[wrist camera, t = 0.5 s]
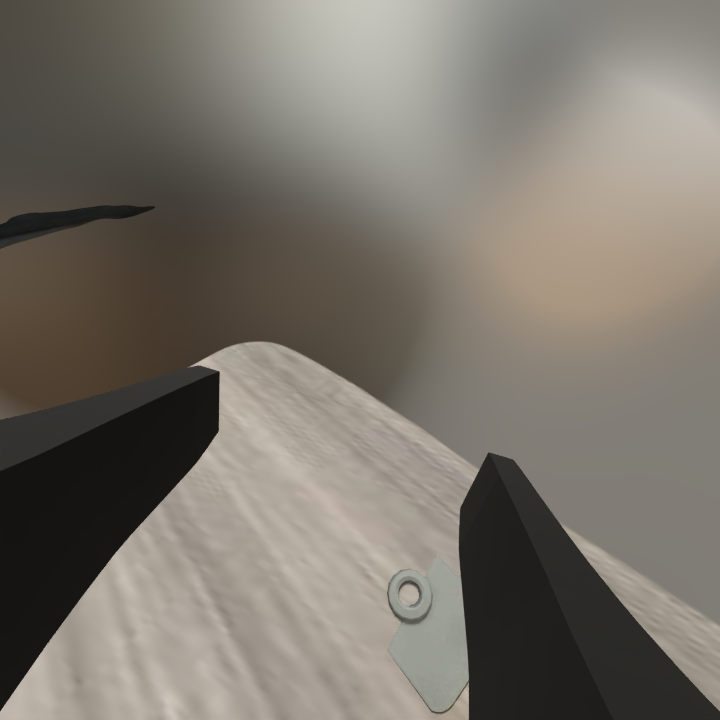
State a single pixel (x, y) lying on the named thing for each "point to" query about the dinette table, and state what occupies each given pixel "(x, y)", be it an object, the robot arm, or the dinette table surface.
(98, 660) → the dinette table surface
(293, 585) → the dinette table surface
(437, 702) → the mounting bracket
